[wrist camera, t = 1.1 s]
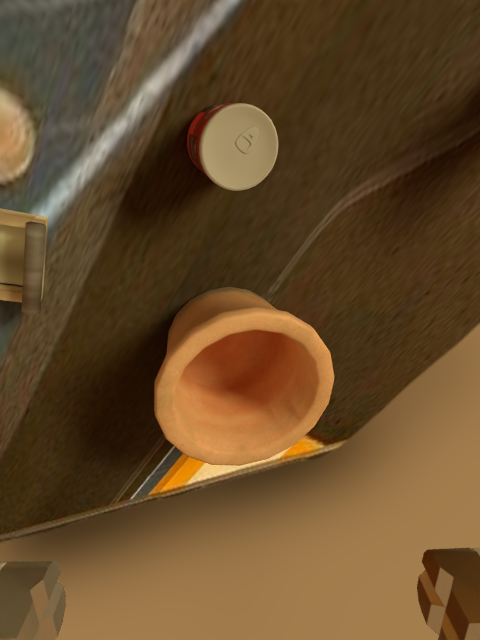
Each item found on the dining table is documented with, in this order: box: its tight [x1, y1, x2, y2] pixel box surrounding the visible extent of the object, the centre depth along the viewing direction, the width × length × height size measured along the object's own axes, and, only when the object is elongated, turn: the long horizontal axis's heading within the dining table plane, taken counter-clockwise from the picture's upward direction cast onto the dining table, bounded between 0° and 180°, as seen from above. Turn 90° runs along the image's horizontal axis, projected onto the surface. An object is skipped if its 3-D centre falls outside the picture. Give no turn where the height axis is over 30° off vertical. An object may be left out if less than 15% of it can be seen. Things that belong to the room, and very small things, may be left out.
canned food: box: [187, 103, 278, 190], centre depth 45 cm, size 8×8×11 cm
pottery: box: [154, 287, 334, 465], centre depth 56 cm, size 22×22×14 cm
